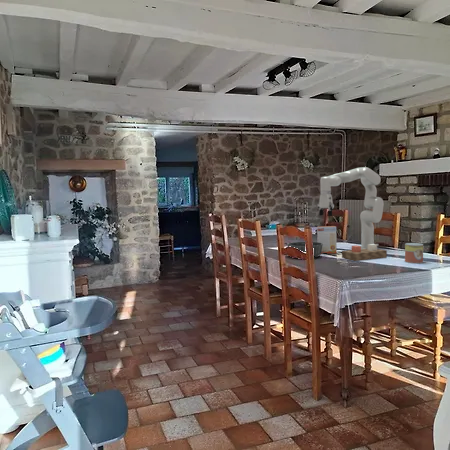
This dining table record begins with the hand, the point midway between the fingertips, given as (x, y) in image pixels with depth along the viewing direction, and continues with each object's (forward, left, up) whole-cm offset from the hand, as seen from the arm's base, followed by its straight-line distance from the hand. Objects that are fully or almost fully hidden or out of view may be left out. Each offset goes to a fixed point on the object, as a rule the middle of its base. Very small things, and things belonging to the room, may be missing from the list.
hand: (325, 215), depth 316 cm
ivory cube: (-21, +27, -25) cm, 42 cm away
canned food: (-32, +55, -30) cm, 70 cm away
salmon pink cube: (-7, +27, -25) cm, 37 cm away
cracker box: (-3, -3, -30) cm, 30 cm away
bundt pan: (+20, +2, -30) cm, 36 cm away
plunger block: (-14, +27, -30) cm, 42 cm away
